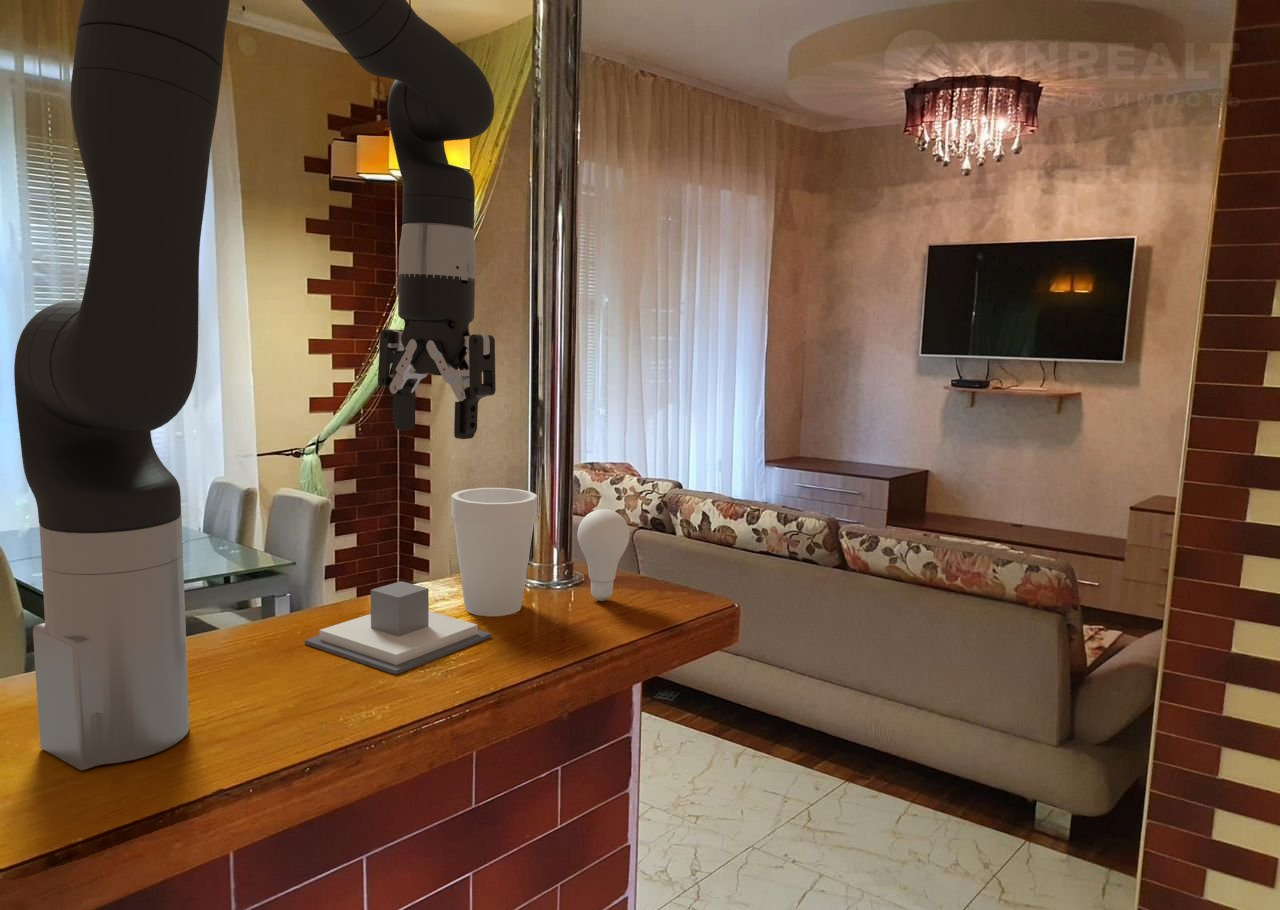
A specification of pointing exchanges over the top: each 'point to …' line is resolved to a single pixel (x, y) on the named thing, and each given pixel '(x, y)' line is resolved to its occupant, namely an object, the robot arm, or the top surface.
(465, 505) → the foam cup
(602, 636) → the top surface
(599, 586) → the lightbulb
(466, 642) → the mat
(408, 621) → the cover
